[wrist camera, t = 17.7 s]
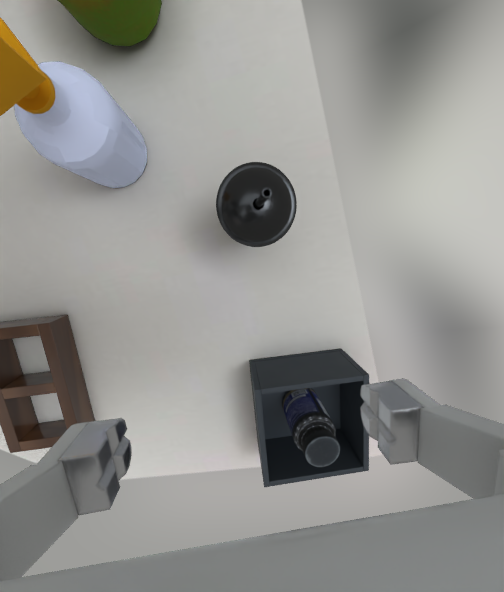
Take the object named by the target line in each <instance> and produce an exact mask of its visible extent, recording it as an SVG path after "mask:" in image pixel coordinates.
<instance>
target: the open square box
mask: <svg viewBox="0 0 504 592" xmlns="http://www.w3.org/2000/svg"><path fill="white" fill-rule="evenodd" d="M249 362H250V372H251V381H252V391H253V401H254V410H255V420H256V430H257V439H258V447H259V454H260V461H261V468H262V474H263V482H264V487H269V486H275V485H281V484H287V483H294V482H299V481H306V480H312V479H319V478H324V477H330V476H337V475H344V474H350V473H356V472H362V471H368V470H369V434H368V433H367V431H366V430H365V428H364V426H363V422H362V419H361V409H360V407H361V406H362V404H363V403H364V400H363V399H362V398H361V396H360V389H361V386H362V385H367V384H369V374H368V373H367V372H366V371H364V370H363V369H362V368H361V367H360V366H359V365H358V364H357V363H356V362H355V361H354V360H353V359H352V358H351V357H350V356H349V355H348V354H347V353H345V352H344V351H343V350H342V349H334V350H326V351H318V352H310V353H302V354H295V355H287V356H279V357H271V358H263V359H255V360H249ZM305 388H311V389H312V390H313V391H315V393H316V395H317V396H318V398H319V400H320V401H321V403H322V405H323V406H324V408H325V410H326V412H327V413H328V415H329V417H330V418H331V420H332V422H333V424H334V426H335V429H336V435H335V437H336V439H337V441H338V443H339V445H340V453H339V456H338V458H337V459H336V460H335V461H334V462H333V463H332V464H330V465H328V466H325V467H315V466H313V465H311V464H310V463H308V461H307V460H306V458H305V455H304V453H303V451H302V450H300V449H299V448H298V447H297V446H296V444H295V442H294V439H293V436H292V433H291V431H290V428H289V425H288V422H287V419H286V416H285V413H284V410H283V406H282V400H283V397H284V395H285V394H286V392H287V391H291V390H298V389H305Z"/></svg>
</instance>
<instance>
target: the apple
mask: <svg viewBox="0 0 504 592" xmlns="http://www.w3.org/2000/svg"><path fill="white" fill-rule="evenodd" d="M58 1H59V2H60V3H61V4H62V5H63V6H64V7H65V8H66V9H67V10H68V11H69V12H70V13H71V14H72V15H73V17H74V18H75V19H76V20H77V21H78V22H79V23H80V24H81V25H82V26H83V27H84V28H85V29H86V30H88V31H89V32H90V33H91V34H92V35H93V36H94V37H96V38H98V39H100V40H102V41H104V42H107V43H109V44H111V45H116V46H132V45H134V44H136V43H138V42H140V41H142V40H145V39H146V38H147V37H148V35H149V34H150V32H151V31H152V29H153V28H154V26H155V25H156V23H157V20H158V16H159V12H160V8H161V4H162V3H161V0H58Z"/></svg>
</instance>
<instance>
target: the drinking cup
mask: <svg viewBox="0 0 504 592" xmlns="http://www.w3.org/2000/svg"><path fill="white" fill-rule="evenodd" d="M216 210H217V215H218V218H219V221H220V223H221V225H222V227H223V229H224V230H225V232H226V233H227V234H228V235H229V236H230V237H231V238H232V239H234V240H235V241H237V242H239V243H241V244H243V245H246V246H251V247H262V246H267V245H270V244H272V243H275V242H276V241H278V240H279V239H281V238H282V237H283V236H284V235H285V234H286V233H287V232H288V230H289V229H290V227H291V225H292V223H293V221H294V218H295V214H296V196H295V192H294V189H293V186H292V184H291V183H290V181H289V179H288V178H287V177H286V176H285V175H284V174H283V173H282V172H281V171H280V170H279V169H277V168H276V167H274V166H272V165H269V164H266V163H262V162H250V163H246V164H243V165H240V166H238V167H236V168H235V169H233V170H232V171H231V172H230V173H229V174H228V175H227V176H226V177H225V178H224V180H223V181H222V183H221V185H220V187H219V190H218V193H217V199H216Z"/></svg>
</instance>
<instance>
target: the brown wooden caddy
mask: <svg viewBox="0 0 504 592" xmlns="http://www.w3.org/2000/svg"><path fill="white" fill-rule="evenodd" d="M39 335H40V336H41V340H42V343H43V347H44V350H45V354H46V357H47V361H48V364H49V368H50V372H42V373H34V374H26V375H23V373H22V370H21V366H20V363H19V360H18V357H17V353H16V350H15V347H14V344H13V341H12V339H13V338H21V337H30V336H39ZM56 392H57V396H58V399H59V403H60V406H61V410H62V413H63V417H64V420H60V421H52V422H45V423H38V421H37V418H36V415H35V411H34V408H33V405H32V402H31V398H30V396H33V395H41V394H49V393H56ZM92 421H95V419H94V415H93V412H92V408H91V404H90V400H89V396H88V392H87V388H86V384H85V380H84V377H83V373H82V369H81V365H80V361H79V357H78V353H77V349H76V345H75V341H74V338H73V334H72V330H71V326H70V322H69V318H68V315H60V316H51V317H42V318H33V319H24V320H15V321H5V322H0V425H1V427H2V430H3V433H4V436H5V439H6V442H7V445H8V448H9V450H10V453H13V452H20V451H27V450H34V449H42V448H49V447H53V445H54V444H55V443H56V442H57V441H58V440H59V439H60V437H61V436H62V435H63V434H64V433H65V432H66V431H67V429H68V428H69V427H70V426H71V425H74V424H77V423H84V422H92Z"/></svg>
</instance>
